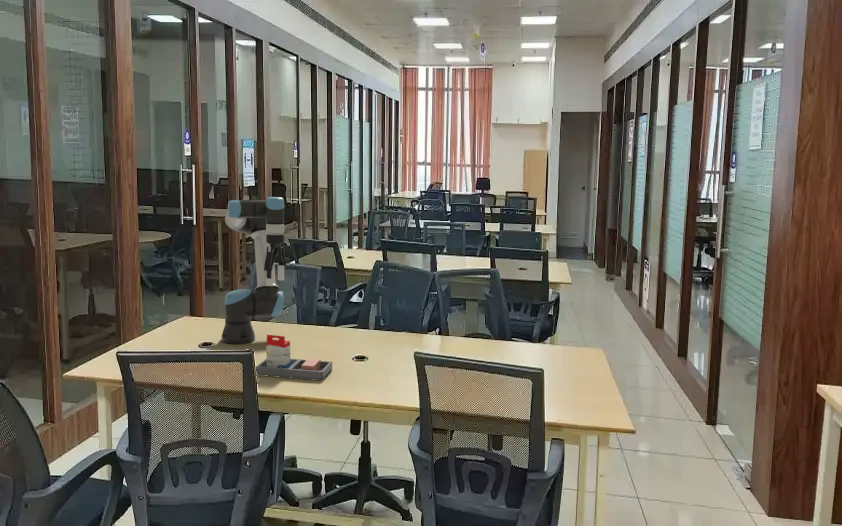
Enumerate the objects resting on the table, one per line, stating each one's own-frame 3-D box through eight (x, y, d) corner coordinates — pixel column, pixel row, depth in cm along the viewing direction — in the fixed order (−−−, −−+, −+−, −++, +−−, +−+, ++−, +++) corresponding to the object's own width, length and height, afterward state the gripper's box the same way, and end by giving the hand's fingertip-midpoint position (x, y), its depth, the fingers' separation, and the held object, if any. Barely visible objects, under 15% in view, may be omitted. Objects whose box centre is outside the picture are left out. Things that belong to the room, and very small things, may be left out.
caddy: (255, 375, 269) (255, 366, 269) (268, 365, 283) (268, 357, 282) (322, 380, 266) (322, 371, 265) (332, 370, 279) (332, 361, 278)
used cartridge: (301, 375, 269) (301, 365, 268) (308, 368, 278) (308, 358, 277) (313, 375, 268) (313, 366, 268) (320, 369, 277) (320, 359, 276)
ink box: (291, 368, 276) (290, 333, 274) (285, 372, 271) (285, 336, 269) (272, 366, 279) (271, 331, 276) (266, 370, 274) (265, 334, 272)
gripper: (273, 237, 277) (273, 288, 280) (293, 231, 301) (293, 278, 305) (255, 236, 278) (256, 287, 281) (277, 230, 302) (277, 277, 306)
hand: (275, 283), depth 293 cm, fingers open, 13 cm apart
